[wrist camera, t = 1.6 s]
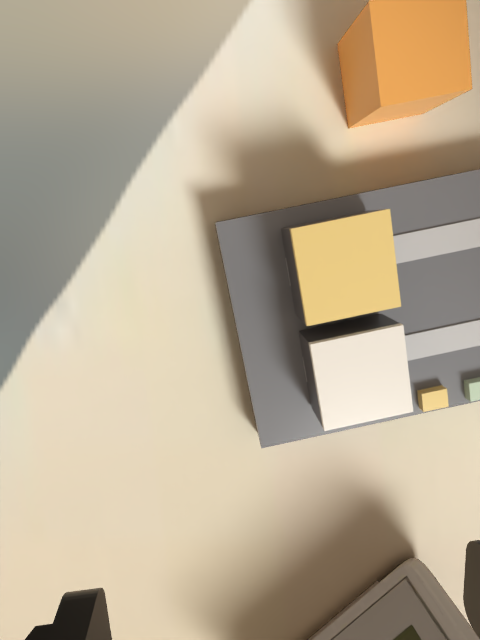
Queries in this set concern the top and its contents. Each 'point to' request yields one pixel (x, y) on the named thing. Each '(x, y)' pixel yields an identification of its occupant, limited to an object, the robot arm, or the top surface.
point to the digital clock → (400, 610)
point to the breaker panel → (415, 313)
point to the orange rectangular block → (404, 59)
